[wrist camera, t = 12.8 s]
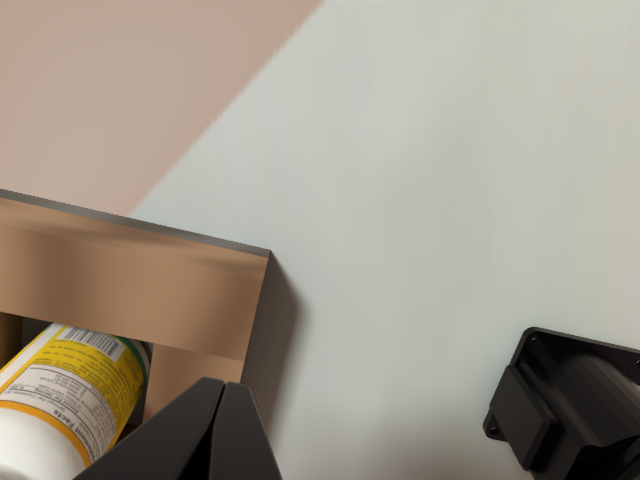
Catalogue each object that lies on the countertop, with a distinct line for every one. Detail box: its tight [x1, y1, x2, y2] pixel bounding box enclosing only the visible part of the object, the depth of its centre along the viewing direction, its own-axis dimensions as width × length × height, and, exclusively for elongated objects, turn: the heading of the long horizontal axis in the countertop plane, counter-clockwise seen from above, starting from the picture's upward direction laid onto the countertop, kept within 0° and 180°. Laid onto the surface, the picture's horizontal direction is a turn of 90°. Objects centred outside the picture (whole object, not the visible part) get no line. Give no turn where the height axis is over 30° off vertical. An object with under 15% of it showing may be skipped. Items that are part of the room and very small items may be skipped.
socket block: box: [0, 189, 271, 447], centre depth 21 cm, size 14×14×4 cm
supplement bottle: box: [0, 323, 150, 480], centre depth 17 cm, size 5×5×10 cm
